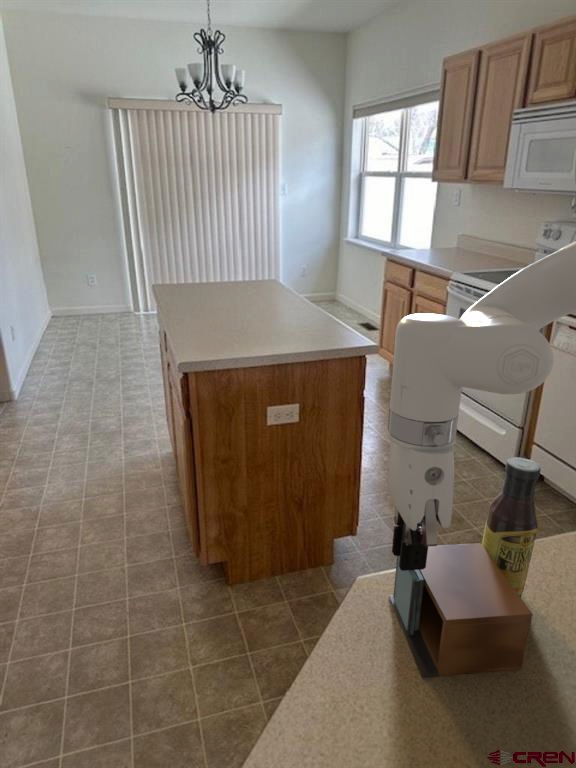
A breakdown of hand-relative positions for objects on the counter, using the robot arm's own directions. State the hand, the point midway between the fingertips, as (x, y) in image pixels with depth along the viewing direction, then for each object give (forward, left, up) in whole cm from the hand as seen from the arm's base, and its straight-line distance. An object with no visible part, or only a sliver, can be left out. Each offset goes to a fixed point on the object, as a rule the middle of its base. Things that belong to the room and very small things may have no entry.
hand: (408, 560), depth 66 cm
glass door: (0, 0, -9) cm, 9 cm away
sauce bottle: (-15, -3, -9) cm, 18 cm away
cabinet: (-6, +3, -9) cm, 11 cm away
